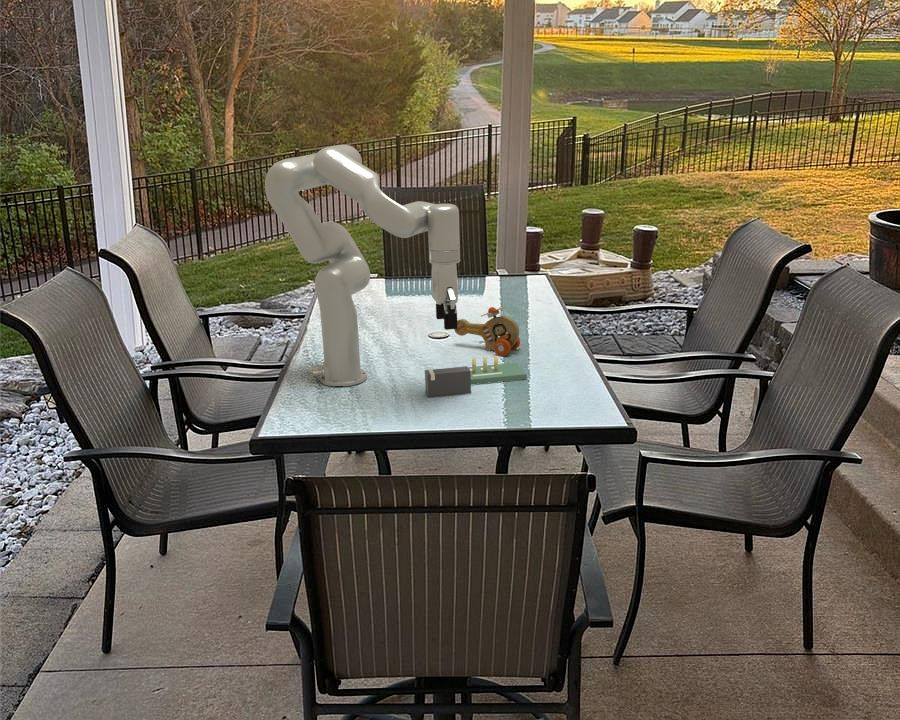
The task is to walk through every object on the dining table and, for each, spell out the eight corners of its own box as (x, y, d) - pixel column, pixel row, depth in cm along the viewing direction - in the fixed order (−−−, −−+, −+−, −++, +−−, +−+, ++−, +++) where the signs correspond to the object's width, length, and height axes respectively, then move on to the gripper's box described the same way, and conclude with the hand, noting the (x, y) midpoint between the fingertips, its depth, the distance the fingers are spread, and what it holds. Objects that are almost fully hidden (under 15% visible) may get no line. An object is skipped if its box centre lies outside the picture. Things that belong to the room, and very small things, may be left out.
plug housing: (428, 397, 220) (427, 374, 218) (425, 392, 224) (424, 369, 222) (471, 393, 222) (470, 370, 220) (467, 388, 226) (467, 365, 224)
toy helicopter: (511, 358, 248) (511, 311, 244) (448, 348, 258) (447, 303, 254) (524, 350, 255) (524, 304, 251) (461, 341, 265) (460, 297, 261)
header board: (452, 386, 227) (452, 366, 225) (444, 374, 236) (444, 355, 235) (526, 379, 231) (526, 359, 229) (516, 367, 240) (516, 348, 238)
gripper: (422, 250, 219) (425, 316, 225) (436, 264, 203) (438, 334, 209) (452, 248, 221) (453, 313, 226) (467, 261, 205) (469, 331, 210)
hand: (446, 323), depth 217 cm, fingers open, 9 cm apart
